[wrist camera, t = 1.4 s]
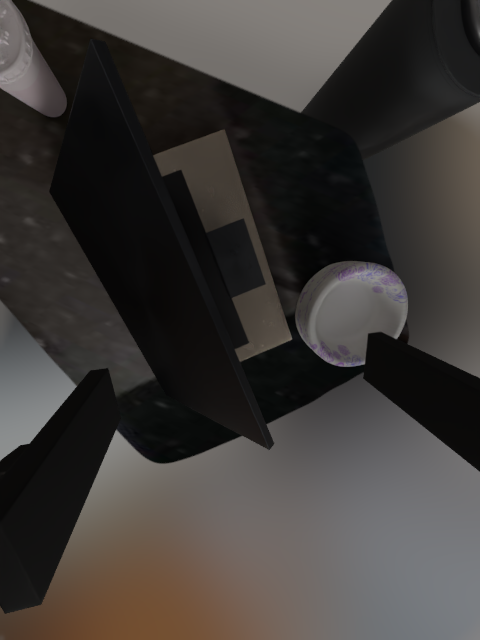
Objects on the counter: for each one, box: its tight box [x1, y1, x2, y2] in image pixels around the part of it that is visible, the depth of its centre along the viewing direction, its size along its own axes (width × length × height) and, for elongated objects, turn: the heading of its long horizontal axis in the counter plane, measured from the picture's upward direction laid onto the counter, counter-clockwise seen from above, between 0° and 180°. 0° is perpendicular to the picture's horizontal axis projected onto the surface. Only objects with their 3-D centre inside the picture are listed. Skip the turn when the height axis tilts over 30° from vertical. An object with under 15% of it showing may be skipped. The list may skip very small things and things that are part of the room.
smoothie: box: [0, 0, 67, 117], centre depth 21 cm, size 6×6×14 cm
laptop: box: [153, 129, 292, 361], centre depth 35 cm, size 21×30×2 cm
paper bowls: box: [295, 261, 408, 367], centre depth 37 cm, size 15×15×8 cm
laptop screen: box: [49, 39, 274, 450], centre depth 25 cm, size 21×30×1 cm
